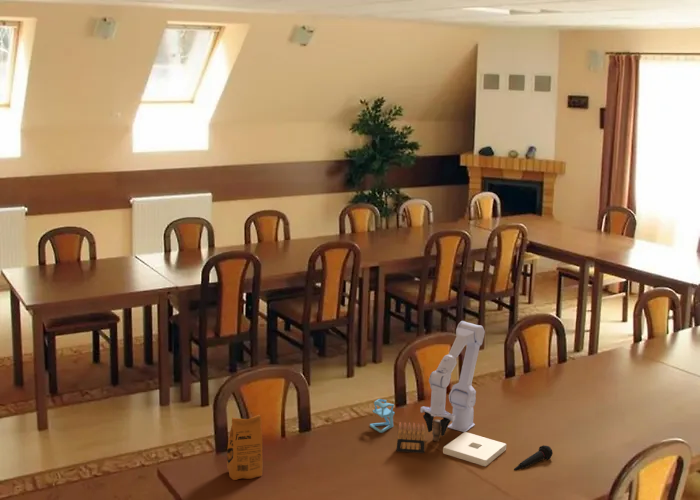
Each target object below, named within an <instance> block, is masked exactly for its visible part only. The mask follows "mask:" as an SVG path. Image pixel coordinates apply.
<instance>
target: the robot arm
mask: <svg viewBox="0 0 700 500" xmlns="http://www.w3.org/2000/svg"><path fill="white" fill-rule="evenodd" d="M485 334H486V331H485V329H484V326H483V325H479V324H474V323H472V322H467V321H465V320H461V321H460V322H459V323H458V324H457V326H456V330H455V336H456V337H455V339H454V341H453V344H452V346H451V348H450V350H449V352H448V354H445V355H444V356H443V357H442V359H441V361H440V362H439V364H438V365H437V366H438V367H437V368H436V370H434V371H432V372H431V373H430V375H429V378H428V383H429V386H430V387H429V388H430V389H431V395H430V396H431V397H430V406H420V412H419V413H424V414H423V415H422V416H423V418H422V419H424V422H425V424H426V428H427V432H428V433H430V432H433V420H434V418H435V417H439V418H442V419H439V420H440V422H441V435H440V437H443V436H445V435H446V432H447V429H448V428H449V429H451V430H455V431H458V432H462V433H464V432H467V431H469V430H470V429H472V428H473V427H474V426H475V425H476V424H475V423H474V413H475V411H474V410H475V409H474V407H475V406H476V400H477V399H476V396H477V395H476V394H477V391H476V389H475V388H474V386H472V384H473V378H474V374H475V370H476V365H477V360H478V357H479V353H480V347H481V346H482V345H483V342H484V338H485ZM465 346H466V348H465ZM464 348H465V353H464V356H463V357H464V358H463V363H462V366H461V371H460V375H459V381H458V382H457V383H455V384H453V385H452V387H451V390H450V392H449V394H448V400H449V403H450V405H451V407H452V413H450V412H449V411H447V410H446V400H447V387H448V386H449V385H450V382H451V378H452V373H453V372H454V371H453V370H454V369H455V368H456V367H457V363H458V361H457V358H458V356H459V355H460V354H461V353H462V352H463V350H464Z"/></svg>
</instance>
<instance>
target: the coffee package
mask: <svg viewBox="0 0 700 500" xmlns="http://www.w3.org/2000/svg"><path fill="white" fill-rule="evenodd" d="M230 427H231V428H230V432H229V434H228V435H229V437H228V442H227V449H226V450H227V451H226V468H227V471H228V473H229V474H228V476H229V478H230V479H232V480H233V481H236V480H241V479H246V480H251V479H255V478H258V477H259V478H260V477H262V476H263V466H264V465H263V429H262V415H260V414H258V415H254V416H252V417H249V418H239V417H232V418H231V426H230Z"/></svg>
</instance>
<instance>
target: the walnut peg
mask: <svg viewBox="0 0 700 500" xmlns="http://www.w3.org/2000/svg"><path fill="white" fill-rule="evenodd" d="M440 420H441V419H433V428H432V431H431V432H432V433H431V434H432V441H433V442H439V441H440V438H441V422H440Z"/></svg>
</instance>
